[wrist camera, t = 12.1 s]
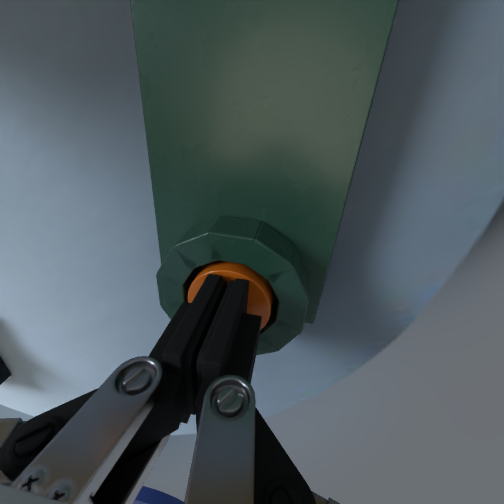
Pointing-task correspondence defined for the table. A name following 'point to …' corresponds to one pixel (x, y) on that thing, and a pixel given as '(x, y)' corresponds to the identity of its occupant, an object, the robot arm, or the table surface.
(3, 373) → the clamp block
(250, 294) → the button
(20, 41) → the table surface
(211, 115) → the button box
